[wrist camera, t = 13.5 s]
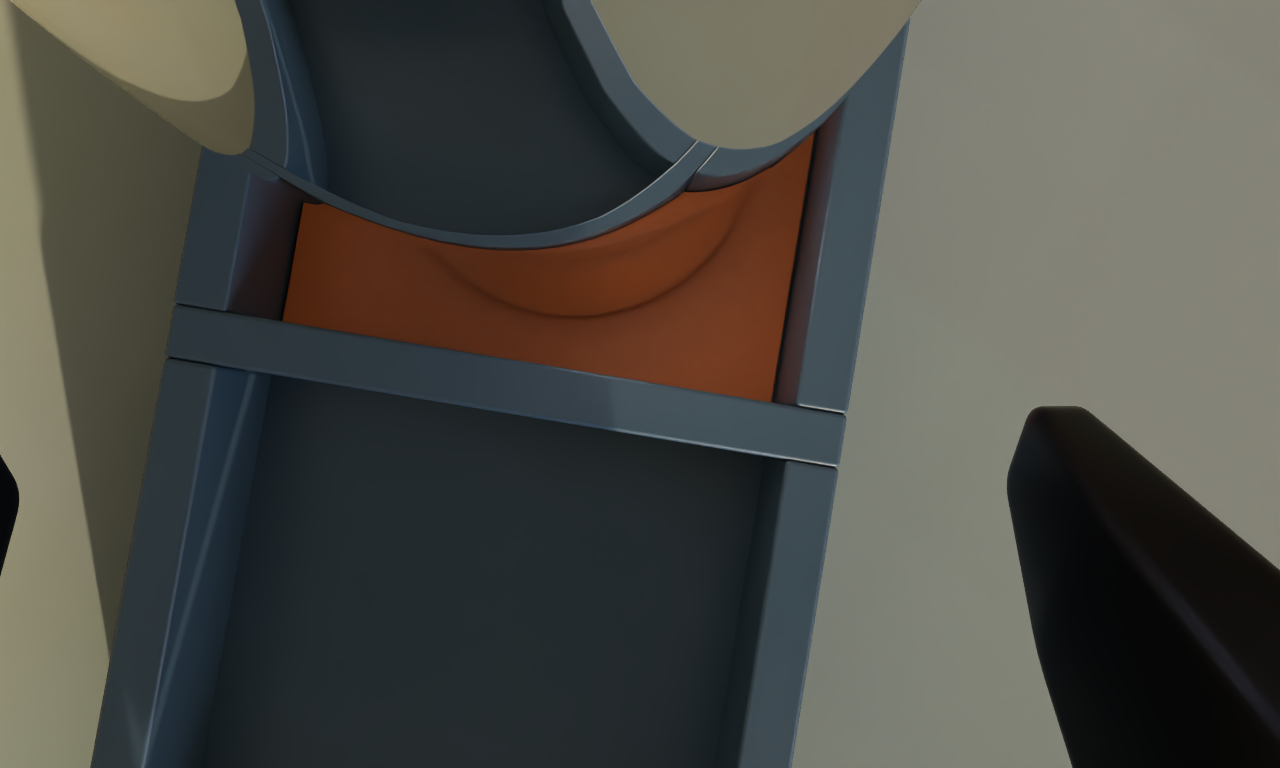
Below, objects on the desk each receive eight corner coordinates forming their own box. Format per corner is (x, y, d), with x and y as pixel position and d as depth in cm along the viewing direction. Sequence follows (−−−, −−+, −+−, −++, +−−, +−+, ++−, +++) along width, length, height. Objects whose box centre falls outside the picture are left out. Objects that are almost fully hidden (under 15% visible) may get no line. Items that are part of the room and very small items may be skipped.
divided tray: (720, 989, 18) (738, 1104, 15) (146, 894, 18) (47, 991, 15) (894, -96, 19) (945, -195, 16) (339, -188, 19) (282, -306, 16)
